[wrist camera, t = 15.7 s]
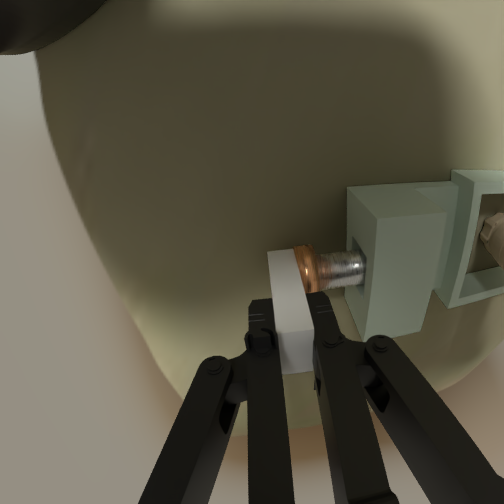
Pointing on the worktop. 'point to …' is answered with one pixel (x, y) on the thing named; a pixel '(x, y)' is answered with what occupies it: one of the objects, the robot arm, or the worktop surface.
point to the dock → (417, 249)
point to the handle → (494, 237)
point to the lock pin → (330, 268)
